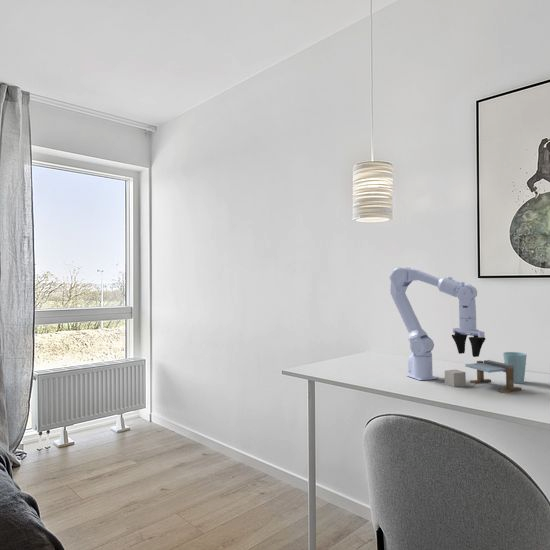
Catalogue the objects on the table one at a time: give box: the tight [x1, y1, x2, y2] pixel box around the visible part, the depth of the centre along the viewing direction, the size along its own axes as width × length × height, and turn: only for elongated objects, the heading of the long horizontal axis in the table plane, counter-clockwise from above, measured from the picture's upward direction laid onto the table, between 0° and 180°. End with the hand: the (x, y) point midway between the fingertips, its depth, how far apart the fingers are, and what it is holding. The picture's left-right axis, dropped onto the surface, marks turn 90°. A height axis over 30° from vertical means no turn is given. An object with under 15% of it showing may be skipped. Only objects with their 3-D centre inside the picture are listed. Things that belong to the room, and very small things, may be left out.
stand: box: [469, 360, 523, 393], centre depth 161 cm, size 16×8×8 cm, turn 16°
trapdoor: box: [464, 359, 514, 373], centre depth 161 cm, size 12×10×2 cm
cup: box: [502, 351, 527, 384], centre depth 167 cm, size 8×8×10 cm
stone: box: [444, 369, 467, 388], centre depth 165 cm, size 5×5×5 cm
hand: (468, 355), depth 166 cm, fingers open, 7 cm apart
